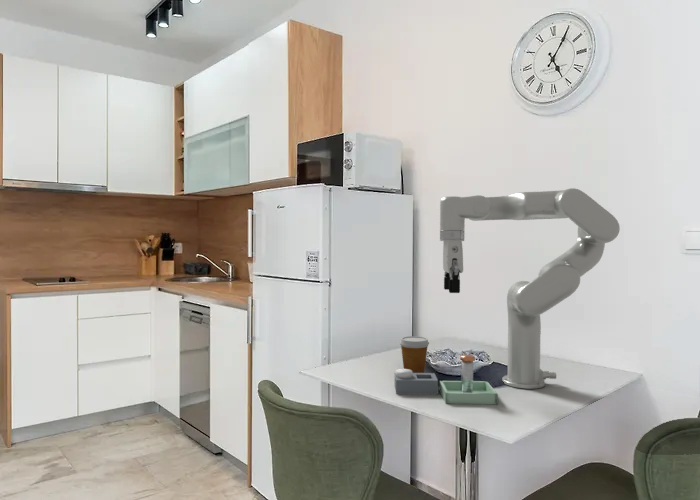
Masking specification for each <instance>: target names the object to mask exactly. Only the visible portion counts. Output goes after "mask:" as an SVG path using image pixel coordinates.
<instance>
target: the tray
mask: <svg viewBox="0 0 700 500" xmlns="http://www.w3.org/2000/svg"><path fill="white" fill-rule="evenodd" d="M438 391H439V392H440V394H441V397H442V399H443V401H444V403H445V404H446V405H447V404H448V405H449V404H457V405H458V404H459V405H461V404H463V405H464V404H465V405H469V404H470V405H498V404H499V403H498V402H499V401H498V399H499V397H498V396H499V394H498V393H497V391H496V390H495V389H494V387H492V385H491V384H490V383H489V381H487V380H486V381H485V380H484V381H481V380H473V393H461V380H439V384H438Z"/></svg>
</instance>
